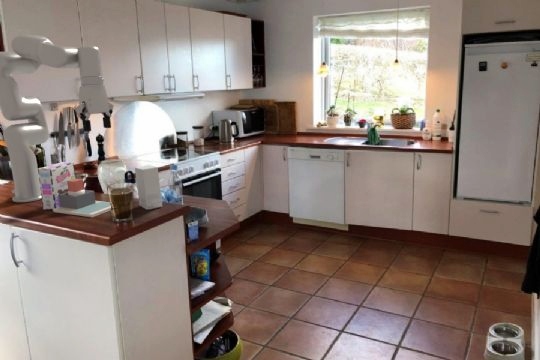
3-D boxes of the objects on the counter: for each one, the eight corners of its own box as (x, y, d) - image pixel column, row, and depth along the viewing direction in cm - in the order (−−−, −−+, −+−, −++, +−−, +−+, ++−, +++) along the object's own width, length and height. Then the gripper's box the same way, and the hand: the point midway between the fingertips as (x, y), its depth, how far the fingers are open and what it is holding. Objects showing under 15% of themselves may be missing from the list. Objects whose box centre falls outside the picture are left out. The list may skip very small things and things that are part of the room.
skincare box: (162, 207, 175) (159, 167, 172) (145, 210, 172) (141, 169, 168) (154, 202, 182) (150, 164, 179) (138, 205, 178) (134, 166, 175)
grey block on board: (53, 211, 174) (51, 196, 173) (84, 201, 187) (82, 187, 186) (92, 217, 165) (90, 201, 164) (121, 206, 179) (120, 191, 177)
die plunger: (65, 201, 176) (62, 181, 175) (78, 197, 182) (75, 178, 180) (77, 203, 174) (74, 182, 172) (89, 199, 179) (86, 179, 177)
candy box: (55, 210, 175) (50, 168, 172) (42, 210, 177) (36, 168, 173) (78, 201, 188) (73, 161, 185) (66, 200, 190) (61, 161, 186)
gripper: (102, 81, 174) (107, 126, 178) (64, 83, 159) (71, 132, 163) (117, 81, 171) (122, 127, 175) (80, 82, 156) (87, 132, 160)
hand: (97, 129), depth 169 cm, fingers open, 9 cm apart
